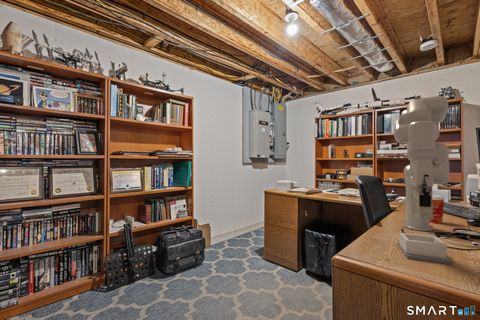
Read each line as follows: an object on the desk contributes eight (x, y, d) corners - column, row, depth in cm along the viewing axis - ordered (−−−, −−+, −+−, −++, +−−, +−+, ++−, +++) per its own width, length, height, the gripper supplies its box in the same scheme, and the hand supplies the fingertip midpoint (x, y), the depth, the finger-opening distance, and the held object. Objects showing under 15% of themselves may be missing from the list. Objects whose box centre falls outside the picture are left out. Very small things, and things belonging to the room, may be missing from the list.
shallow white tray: (397, 244, 93) (397, 230, 93) (434, 248, 89) (434, 234, 89) (407, 258, 80) (407, 242, 80) (451, 264, 76) (451, 247, 76)
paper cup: (422, 220, 129) (422, 195, 129) (435, 220, 130) (435, 195, 130) (435, 224, 121) (435, 197, 121) (449, 224, 122) (449, 197, 122)
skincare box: (433, 219, 81) (433, 184, 81) (419, 219, 82) (419, 184, 82) (422, 215, 87) (422, 182, 87) (409, 215, 88) (409, 182, 88)
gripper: (402, 155, 94) (402, 200, 94) (416, 155, 78) (416, 208, 78) (425, 155, 91) (425, 201, 91) (444, 155, 75) (444, 210, 75)
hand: (421, 204), depth 84 cm, fingers closed on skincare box, 6 cm apart
